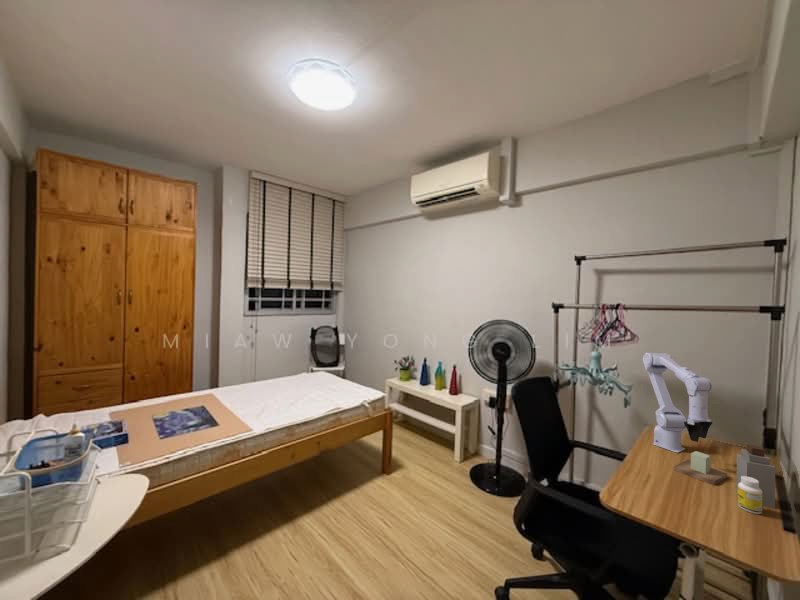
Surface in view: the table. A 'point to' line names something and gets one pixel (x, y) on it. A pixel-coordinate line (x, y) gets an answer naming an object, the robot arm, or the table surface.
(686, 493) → the table surface
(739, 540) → the table surface
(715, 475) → the walnut base
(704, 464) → the sage block
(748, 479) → the supplement bottle
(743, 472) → the grey tall open box
